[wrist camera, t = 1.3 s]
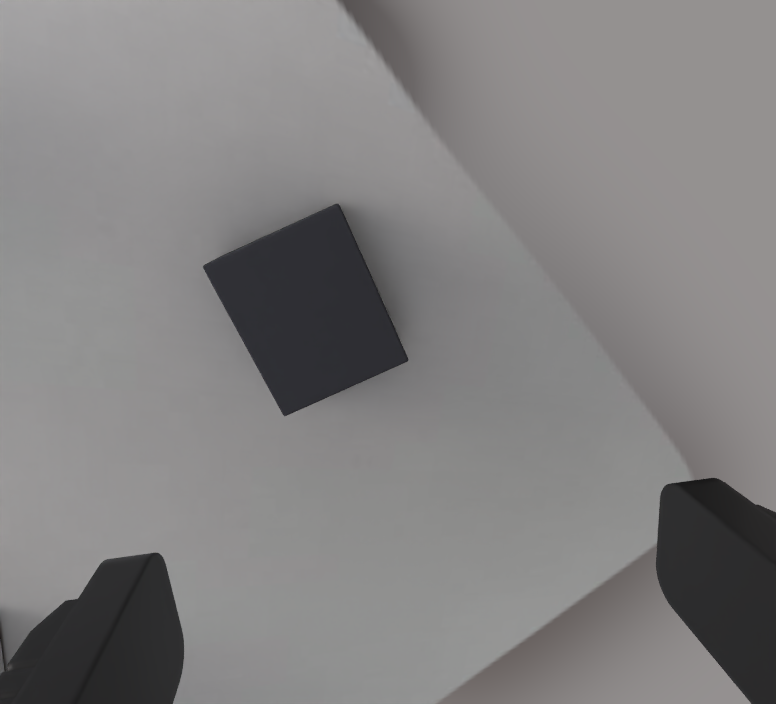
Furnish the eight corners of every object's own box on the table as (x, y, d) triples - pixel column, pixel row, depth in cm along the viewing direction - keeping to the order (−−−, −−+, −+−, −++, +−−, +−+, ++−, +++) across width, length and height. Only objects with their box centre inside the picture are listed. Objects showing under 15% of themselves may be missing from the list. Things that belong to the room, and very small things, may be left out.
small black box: (338, 202, 20) (338, 203, 18) (399, 340, 22) (409, 361, 19) (220, 257, 21) (201, 266, 18) (290, 389, 22) (283, 417, 19)
